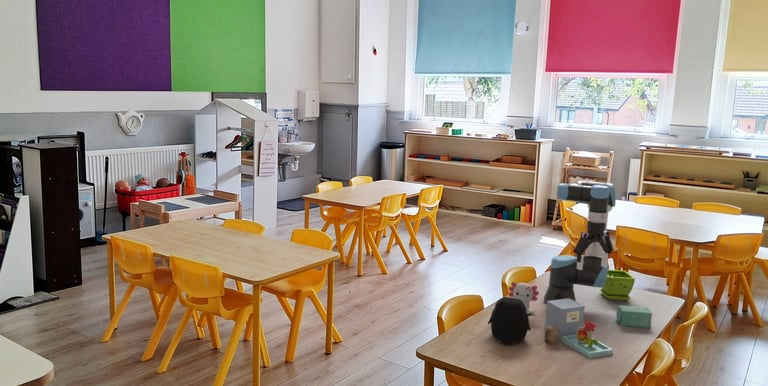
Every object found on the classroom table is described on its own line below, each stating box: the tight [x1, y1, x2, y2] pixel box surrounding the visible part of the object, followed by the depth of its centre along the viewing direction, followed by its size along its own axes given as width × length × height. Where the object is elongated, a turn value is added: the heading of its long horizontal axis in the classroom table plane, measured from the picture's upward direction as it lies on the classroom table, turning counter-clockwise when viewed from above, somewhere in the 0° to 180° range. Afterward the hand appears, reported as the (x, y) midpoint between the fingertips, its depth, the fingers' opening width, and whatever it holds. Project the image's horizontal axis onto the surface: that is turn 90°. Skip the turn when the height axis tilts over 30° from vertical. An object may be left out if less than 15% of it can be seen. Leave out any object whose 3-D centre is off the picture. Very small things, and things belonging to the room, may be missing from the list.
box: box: [615, 305, 653, 329], centre depth 282 cm, size 7×14×8 cm, turn 83°
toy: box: [508, 281, 540, 315], centre depth 287 cm, size 14×8×15 cm, turn 68°
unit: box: [544, 298, 586, 339], centre depth 268 cm, size 11×12×13 cm
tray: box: [560, 334, 614, 359], centre depth 255 cm, size 17×12×2 cm
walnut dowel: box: [544, 326, 558, 346], centre depth 258 cm, size 5×5×6 cm
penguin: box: [487, 296, 532, 346], centre depth 259 cm, size 18×18×17 cm
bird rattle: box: [576, 320, 599, 349], centre depth 254 cm, size 6×11×9 cm
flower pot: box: [599, 269, 636, 301], centre depth 317 cm, size 14×14×13 cm
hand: (591, 268), depth 273 cm, fingers open, 13 cm apart
